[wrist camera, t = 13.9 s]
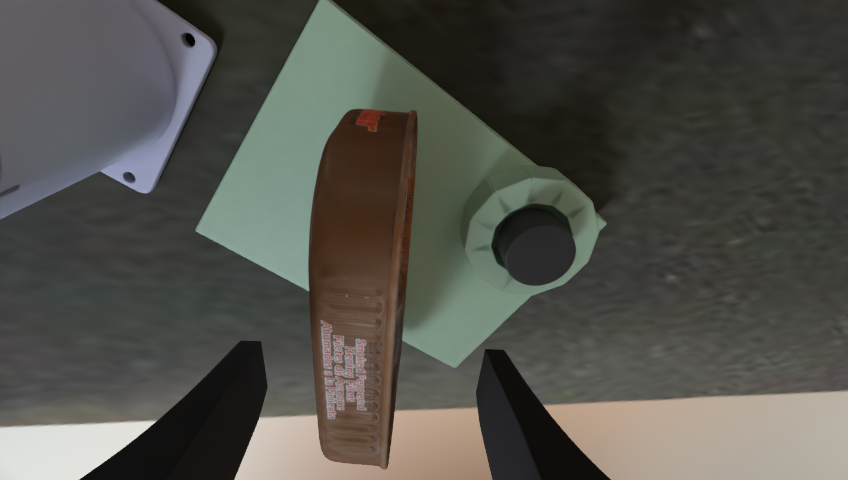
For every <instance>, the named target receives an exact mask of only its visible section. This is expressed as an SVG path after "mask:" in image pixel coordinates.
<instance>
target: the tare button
mask: <svg viewBox="0 0 848 480" xmlns="http://www.w3.org/2000/svg"><path fill="white" fill-rule="evenodd" d="M497 246H498V250H499V252H500V255H501V257H502V260H503V262H504V265H505V267H506V269H507V271H508V273H509V275H510V276H511V277H512V278H513V279H515V280H516V281H518V282H520V283H522V284H525V285H530V286H541V285H546V284H549V283H552V282H554V281H556V280H558V279H559V278H561V277H562V276H563V275H564V274H565V273H566V272H567V271H568V270H569V269H570V267H571V266H572V264H573V262H574V259H575V255H576V245H575V241H574V239H573V237H572V236H571V234H570V233H569V232H568V231H567V229H566V228H565V227H564V225H563V224H562V223H561V221H560V220H559V219H558V218H557V216H555V215H554V214H553V213H551V212H550V211H547V210H544V209H540V208H529V209H524V210H521V211H519V212H517V213H515V214H513V215H512V216H511V217H509V218H508V219H507V220H506V221H505V222H504V224H503V225H502V227H501V228H500V231H499V233H498V237H497Z"/></svg>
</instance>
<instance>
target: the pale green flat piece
mask: <svg viewBox="0 0 848 480" xmlns="http://www.w3.org/2000/svg"><path fill="white" fill-rule="evenodd" d="M352 109H374V110H383V111H392V112H410V111H411V110H416V111H417V117H418V137H417V158H416V173H415V188H414V201H413V214H412V226H411V237H410V249H409V262H408V274H407V287H406V299H405V310H404V323H403V335H402V341H404V342H406V343H408V344H410V345H412V346H414V347H415V348H417V349H419V350H421V351H423V352H425V353H427V354H429V355H431V356H432V357H434V358H436V359H438V360H440V361H442V362H444V363H446V364H448V365H449V366H451V367H453V368H456V367H457V366H458V365H459V364H460V363H461V362H462V361H463V360H464V359H465V358H466V357H467V356H468V355H469V354H470V353H472V352H473V351H474V350H475V349H476V348H477V347H478V346H479V345H480V344H481V343H482V342H483V341H484V340H485V339H486V338H487V337H488V336H489V335H491V334H492V333H493V332H494V331H495V330H496V329H497V328H498V327H499V326H500V325H501V324H502V323H503V322H504V321H505V320H506V319H507V318H508V317H509V316H511V315H512V314H513V313H514V312H515V311H516V310H517V309H518V308H519V307H520V306H521V305H522V304H523V303H524V302H525V301H526V300H527V299H528V298H529V297H531V296H532V295H535V294H538V293H541V292H544V291H546V290H549V289H552V288H555V287H558V286H561V285H563V284H565V283H566V282H567V281H568V280H569V279H570V278H571V277H572V276H574V275H575V274H576V273H577V272H578V271H579V270H580V269H581V268H582V267H583V266H584V265H585V264H587V263H588V260H589V258H590V256H591V253H592V250H593V248H594V245H595V242H596V240H597V237H598V234H599V231H600V230H601V229H602V228H603V227H604V226H605V225H606V224H607V223H606V222H605V221H604V220H603V219H602V218H601V217H600V216H599V215H598V214H597V213H596V212H595V209H594V205H593V202H592V201H591V199H590V198H589V197H588V196H587V195H586V194H585V193H583V192H582V191H581V190H580V189H579V188H578V187H577V186H576V185H575V184H574V183H572V182H571V181H570V180H569V179H568V178H566V177H565V176H564V175H563V174H561V173H560V172H559V171H558V170H557V169H554V168H551V167H542V166H538V165H536V164H535V163H534V162H533V161H531V160H530V159H529V158H528V157H526V156H525V155H524V154H523V153H522V152H520V151H519V150H518V149H517V148H515V147H514V146H513V145H512V144H510V143H509V142H508V141H507V140H505V139H504V138H503V137H502V136H500V135H499V134H498V133H497V132H495V131H494V130H493V129H492V128H490V127H489V126H488V125H487V124H485V123H484V122H483V121H482V120H480V119H479V118H478V117H477V116H475V115H474V114H473V113H472V112H470V111H469V110H468V109H467V108H465V107H464V106H463V105H462V104H461V103H459V102H458V101H457V100H456V99H454V98H453V97H452V96H451V95H449V94H448V93H447V92H446V91H444V90H443V89H442V88H441V87H439V86H438V85H437V84H436V83H434V82H433V81H432V80H431V79H429V78H428V77H427V76H426V75H424V74H423V73H422V72H421V71H419V70H418V69H417V68H416V67H414V66H413V65H412V64H411V63H409V62H408V61H407V60H406V59H404V58H403V57H402V56H401V55H400V54H398V53H397V52H396V51H395V50H393V49H392V48H391V47H390V46H388V45H387V44H386V43H385V42H383V41H382V40H381V39H380V38H378V37H377V36H376V35H375V34H373V33H372V32H371V31H370V30H368V29H367V28H366V27H365V26H363V25H362V24H361V23H360V22H358V21H357V20H356V19H355V18H353V17H352V16H351V15H350V14H348V13H347V12H346V11H345V10H343V9H342V8H341V7H340V6H338V5H337V4H336V3H335V2H334V1H332V0H319V2H318V3H317V5H316V7H315V9H314V11H313V13H312V14H311V16H310V18H309V20H308V22H307V24H306V26H305V27H304V29H303V31H302V33H301V35H300V37H299V39H298V40H297V42H296V44H295V46H294V48H293V50H292V51H291V53H290V55H289V57H288V59H287V61H286V63H285V64H284V66H283V68H282V70H281V72H280V74H279V76H278V77H277V79H276V81H275V83H274V85H273V87H272V89H271V90H270V92H269V94H268V96H267V98H266V100H265V101H264V103H263V105H262V107H261V109H260V111H259V113H258V114H257V116H256V118H255V120H254V122H253V124H252V126H251V127H250V129H249V131H248V133H247V135H246V137H245V138H244V140H243V142H242V144H241V146H240V148H239V150H238V151H237V153H236V155H235V157H234V159H233V161H232V163H231V164H230V166H229V168H228V170H227V172H226V174H225V176H224V177H223V179H222V181H221V183H220V185H219V187H218V188H217V190H216V192H215V194H214V196H213V198H212V200H211V201H210V203H209V205H208V207H207V209H206V211H205V213H204V214H203V216H202V218H201V220H200V222H199V224H198V225H197V227H196V230H195V231H196V232H198V233H200V234H202V235H204V236H206V237H208V238H210V239H211V240H213V241H215V242H217V243H219V244H221V245H223V246H225V247H227V248H228V249H230V250H232V251H234V252H236V253H238V254H240V255H242V256H244V257H245V258H247V259H249V260H251V261H253V262H255V263H257V264H259V265H261V266H262V267H264V268H266V269H268V270H270V271H272V272H274V273H276V274H278V275H279V276H281V277H283V278H285V279H287V280H289V281H291V282H293V283H295V284H296V285H298V286H300V287H302V288H304V289H306V290H308V291H309V275H308V257H309V232H310V219H311V210H312V202H313V194H314V189H315V184H316V178H317V173H318V168H319V163H320V160H321V156H322V153H323V149H324V147H325V144H326V142H327V140H328V138H329V136H330V135H331V133H332V132H333V131H334V129H335V128H336V126H337V125H338V124H339V122H340V120H341V119H342V117H343V116H344V115H345V114H346V113H347V112H348V111H349V110H352ZM529 208H540V209H544V210H547V211H550V212H551V213H553V214H554V215H555V216H557V218H558V219H559V220H560V221H561V223H562V224H563V225H564V227H565V228H566V229H567V231H568V232H569V233H570V234H571V236H572V237H573V239H574V241H575V245H576V255H575V259H574V262H573V264H572V266H571V267H570V269H569V270H568V271H567V272H566V273H565V274H564V275H563V276H562V277H561V278H559V279H558V280H556V281H554V282H552V283H549V284H546V285H541V286H530V285H525V284H522V283H520V282H518V281H516V280H515V279H513V278H512V277H511V276H510V275H509V273H508V271H507V269H506V267H505V265H504V262H503V260H502V257H501V255H500V252H499V250H498V246H497V237H498V233H499V231H500V228H501V227H502V225H503V224H504V222H505V221H506V220H507V219H508V218H509V217H511V216H512V215H513V214H515V213H517V212H519V211H521V210H524V209H529Z"/></svg>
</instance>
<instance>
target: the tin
mask: <svg viewBox="0 0 848 480" xmlns="http://www.w3.org/2000/svg"><path fill="white" fill-rule="evenodd" d="M417 137H418V117H417V111H416V110H411V111H410V112H392V111H383V110H374V109H352V110H349V111H348V112H347V113H346V114H345V115H344V116H343V117H342V119H341V120H340V122H339V124H338V125H337V126H336V128H335V129H334V131H333V132H332V133H331V135H330V136H329V138H328V140H327V142H326V144H325V147H324V149H323V153H322V156H321V160H320V163H319V168H318V173H317V178H316V184H315V189H314V194H313V202H312V210H311V219H310V232H309V257H308V275H309V296H310V316H311V334H312V349H313V365H314V377H315V392H316V404H317V416H318V428H319V439H320V445H321V449H322V452H323V454H324V455H325V457H326V458H327V459H329V460H331V461H335V462H341V463H351V464H363V465H374V466H380V467H381V468H382V469H387V467H388V463H389V453H390V446H391V436H392V430H393V420H394V411H395V401H396V391H397V380H398V372H399V364H400V356H401V348H402V335H403V323H404V310H405V299H406V287H407V274H408V262H409V249H410V237H411V226H412V214H413V201H414V188H415V173H416V158H417Z"/></svg>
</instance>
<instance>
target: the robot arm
mask: <svg viewBox="0 0 848 480" xmlns="http://www.w3.org/2000/svg"><path fill="white" fill-rule="evenodd" d="M188 33H190V34H191V35H192V36H193V37H194V39H195V45H194V46H193V47H192V46H190V45H189V44H188V43H187V40H186V35H187V34H188ZM216 56H217V46H216V44H215V42H214V41H213V40H212V39H211V38H210V37H209V36H207V35H206V34H205V33H203V32H202V31H200V30H199V29H197V28H196V27H194V26H193V25H192V24H190V23H189V22H187V21H186V20H184V19H183V18H181V17H180V16H179V15H177V14H176V13H174V12H173V11H171V10H170V9H169V8H167V7H166V6H164V5H163V4H161V3H160V2H158V1H157V0H0V219H2V218H4V217H6V216H8V215H10V214H12V213H14V212H16V211H18V210H20V209H22V208H24V207H27V206H29V205H31V204H33V203H35V202H37V201H39V200H41V199H43V198H45V197H47V196H49V195H51V194H53V193H55V192H57V191H60V190H62V189H64V188H66V187H68V186H70V185H72V184H74V183H76V182H78V181H80V180H82V179H84V178H86V177H88V176H90V175H92V174H95V173H97V172H99V171H101V172H102V173H104V174H106V175H108V176H110V177H112V178H114V179H115V180H117V181H119V182H121V183H123V184H125V185H127V186H129V187H130V188H132V189H134V190H136V191H138V192H141V193H148V192H150V191H152V190H153V189H154V188H155V187H156V185H157V183H158V181H159V179H160V176H161V174H162V172H163V170H164V168H165V166H166V164H167V161H168V159H169V157H170V155H171V153H172V151H173V148H174V146H175V144H176V142H177V140H178V138H179V136H180V133H181V131H182V129H183V127H184V125H185V123H186V120H187V118H188V116H189V114H190V112H191V110H192V108H193V105H194V103H195V101H196V99H197V97H198V95H199V93H200V90H201V88H202V86H203V84H204V82H205V80H206V77H207V75H208V73H209V71H210V69H211V67H212V65H213V62H214V60H215V58H216ZM128 172H130V173H132V174H133V175H134V176H135V178H136V179H135V180H134V179H132V178H131V177H130V176H129V174H128ZM267 387H268V386H267V379H266V372H265V366H264V359H263V352H262V345H261V341H240V342H239V343H238V344H237V345H236V346H235V347H234V348H233V349H232V350H231V351H230V352H229V353H228V354H227V355H226V356H225V357H224V358H223V359H222V360H221V361H220V362H219V363H218V364H217V365H216V366H215V367H214V368H213V369H212V371H211V372H210V373H209V374H208V375H207V376H206V377H204V378H203V379H202V380H201V381H200V382H199V383H198V384H197V385H196V386H195V387H194V388H193V389H192V390H191V391H190V392H189V393H188V394H187V395H186V396H185V397H184V398H183V399H181V400H180V401H179V402H178V403H177V404H176V405H175V406H174V407H173V408H171V409H170V410H169V411H168V412H167V413H166V414H165V415H164V416H162V417H161V418H160V419H159V420H158V421H157V422H155V423H154V424H153V425H152V426H151V427H150V428H148V429H147V430H146V431H145V432H143V433H142V434H141V435H140V436H138V437H137V438H136V439H135V440H133V441H132V442H131V443H129V444H128V445H127V446H126V447H125V448H123V449H122V450H120V451H119V452H118V453H116V454H115V455H114V456H112V457H111V458H110V459H108V460H107V461H105V462H104V463H102V464H101V465H100V466H98V467H97V468H95V469H94V470H92V471H91V472H90V473H88V474H87V475H85V476H84V477H83V478H81V479H80V480H234V479H235V476H236V474H237V471H238V469H239V466H240V464H241V462H242V459H243V457H244V454H245V452H246V449H247V447H248V445H249V442H250V440H251V437H252V435H253V432H254V430H255V427H256V425H257V422H258V420H259V416H260V413H261V409H262V406H263V402H264V399H265V395H266V391H267ZM476 396H477V406H478V414H479V422H480V427H481V432H482V436H483V440H484V445H485V449H486V453H487V457H488V462H489V466H490V470H491V475H492V479H493V480H610V478H608V477H607V476H606V475H605V474H604V473H603V472H602V471H601V470H600V469H599V468H598V467H597V466H596V465H595V464H594V463H593V462H592V461H591V460H590V459H589V458H588V457H587V456H586V455H585V454H584V453H583V452H582V451H581V450H580V449H579V448H578V447H577V446H576V445H575V443H574V442H573V441H572V440H571V439H570V438H569V437H568V436H567V434H566V433H565V432H564V431H563V430H562V429H561V427H560V426H559V425H558V424H557V423H556V421H555V420H554V419H553V418H552V417H551V415H550V414H549V413H548V411H547V410H546V409H545V408H544V406H543V405H542V404H541V402H540V401H539V400H538V398H537V397H536V396H535V394H534V393H533V392H532V390H531V389H530V387H529V386H528V385H527V383H526V382H525V380H524V379H523V377H522V376H521V375H520V373H519V372H518V370H517V369H516V367H515V366H514V364H513V363H512V361H511V360H510V358H509V357H508V355H507V353H506V352H505V351H504V350H493V349H485V353H484V358H483V362H482V367H481V372H480V376H479V381H478V386H477V390H476Z"/></svg>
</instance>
